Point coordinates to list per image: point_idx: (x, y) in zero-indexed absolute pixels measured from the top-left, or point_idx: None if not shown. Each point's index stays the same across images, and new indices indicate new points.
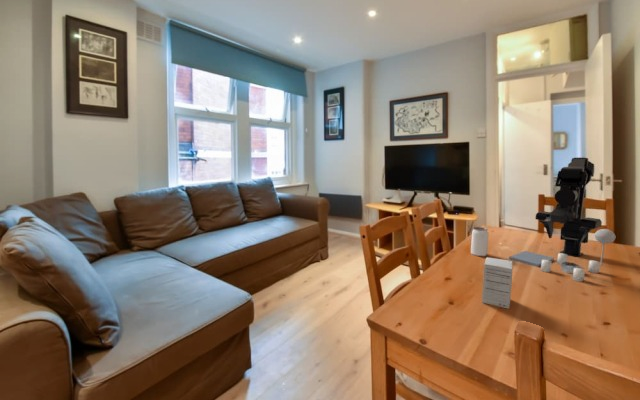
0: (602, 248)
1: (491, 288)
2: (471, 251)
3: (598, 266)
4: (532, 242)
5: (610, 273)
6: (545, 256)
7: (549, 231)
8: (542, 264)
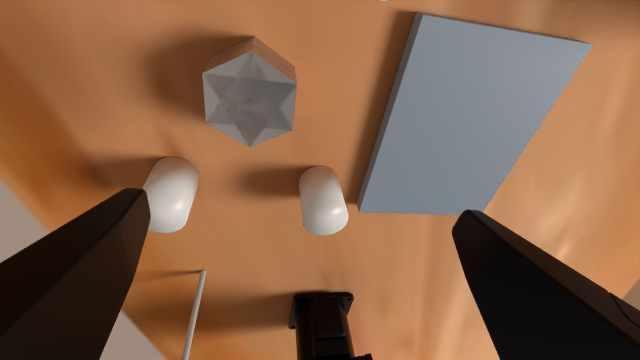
0: (187, 351)
1: None
2: None
3: None
4: (443, 323)
5: None
6: (395, 204)
7: (555, 278)
8: None
